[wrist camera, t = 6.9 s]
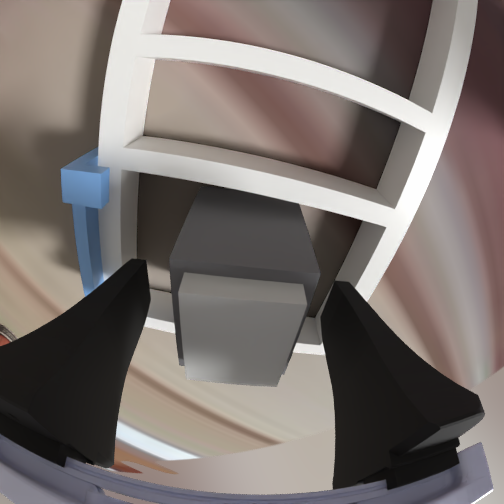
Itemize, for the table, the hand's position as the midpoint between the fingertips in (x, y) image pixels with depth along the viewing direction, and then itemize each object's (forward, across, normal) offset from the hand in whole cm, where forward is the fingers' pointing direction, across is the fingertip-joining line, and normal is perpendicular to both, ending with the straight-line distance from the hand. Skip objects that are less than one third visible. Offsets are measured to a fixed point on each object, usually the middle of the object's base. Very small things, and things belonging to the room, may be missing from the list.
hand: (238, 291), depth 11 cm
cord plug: (+3, 0, 0) cm, 3 cm away
